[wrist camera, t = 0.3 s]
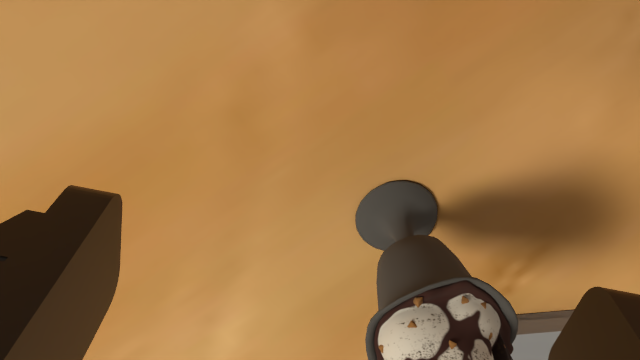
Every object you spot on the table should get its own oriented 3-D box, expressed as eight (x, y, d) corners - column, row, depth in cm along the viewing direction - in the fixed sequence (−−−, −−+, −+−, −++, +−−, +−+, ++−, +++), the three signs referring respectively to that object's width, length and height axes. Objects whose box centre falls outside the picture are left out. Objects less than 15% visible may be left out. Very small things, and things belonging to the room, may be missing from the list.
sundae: (320, 200, 31) (353, 429, 18) (425, 147, 30) (543, 351, 17) (368, 277, 34) (427, 521, 21) (466, 231, 33) (593, 460, 20)
